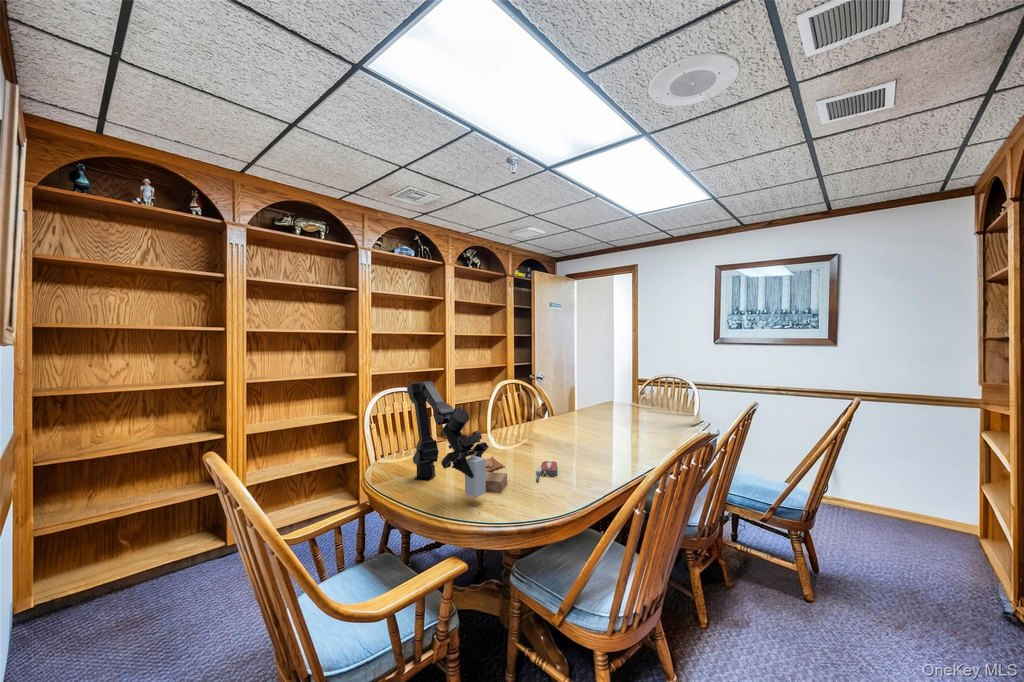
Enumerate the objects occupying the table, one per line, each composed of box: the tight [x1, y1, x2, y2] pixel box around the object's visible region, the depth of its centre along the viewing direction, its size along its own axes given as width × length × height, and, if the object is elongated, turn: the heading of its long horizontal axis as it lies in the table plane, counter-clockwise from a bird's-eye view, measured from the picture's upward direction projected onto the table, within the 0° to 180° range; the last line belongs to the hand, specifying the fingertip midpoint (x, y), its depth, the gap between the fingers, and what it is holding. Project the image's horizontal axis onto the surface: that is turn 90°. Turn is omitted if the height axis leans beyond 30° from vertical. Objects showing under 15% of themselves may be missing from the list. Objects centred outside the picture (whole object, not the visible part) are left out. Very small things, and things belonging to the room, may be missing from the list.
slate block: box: [464, 456, 487, 499], centre depth 137 cm, size 5×5×12 cm
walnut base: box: [485, 471, 508, 493], centre depth 151 cm, size 9×9×4 cm
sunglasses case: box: [485, 456, 506, 472], centre depth 170 cm, size 18×7×7 cm
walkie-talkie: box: [535, 460, 558, 482], centre depth 165 cm, size 9×4×20 cm
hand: (478, 475), depth 136 cm, fingers closed on slate block, 5 cm apart
